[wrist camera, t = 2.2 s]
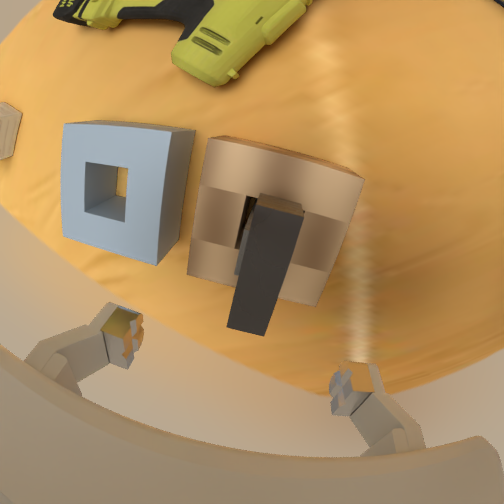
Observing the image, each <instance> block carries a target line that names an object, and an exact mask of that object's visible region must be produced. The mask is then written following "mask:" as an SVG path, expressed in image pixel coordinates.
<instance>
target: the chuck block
mask: <svg viewBox="0 0 504 504" xmlns="http://www.w3.org/2000/svg"><path fill="white" fill-rule="evenodd" d="M195 131H196V130H191V129H184V128H177V127H170V126H162V125H154V124H144V123H133V122H121V121H104V120H96V121H84V122H75V123H66V124H64V128H63V139H62V153H61V213H62V228H63V236H64V237H67V238H70V239H73V240H76V241H79V242H82V243H85V244H88V245H91V246H94V247H97V248H100V249H103V250H106V251H110V252H113V253H116V254H119V255H122V256H126V257H129V258H132V259H135V260H139V261H142V262H145V263H149V264H152V265H155V266H157V265H158V264H159V262H160V261H161V260H162V259H163V258H164V256H165V255H166V254H167V253H168V252H169V251H170V249H171V248H172V247H173V246H174V245H175V243H176V242H177V241H178V240H179V232H180V224H181V216H182V209H183V201H184V194H185V188H186V181H187V175H188V169H189V163H190V157H191V152H192V146H193V141H194V136H195ZM118 167H124V168H128V179H127V192H126V197H121V196H117V195H116V184H117V170H118Z"/></svg>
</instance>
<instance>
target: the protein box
mask: <svg viewBox="0 0 504 504" xmlns="http://www.w3.org/2000/svg"><path fill="white" fill-rule="evenodd" d="M494 1H496V2H497V3H499V4H500V5H501V6H503V7H504V0H494Z"/></svg>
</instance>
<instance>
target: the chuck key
mask: <svg viewBox="0 0 504 504" xmlns="http://www.w3.org/2000/svg"><path fill="white" fill-rule="evenodd" d="M303 220H304V213H303V209H302V204H300V203H297V202H293V201H289V200H286V199H282V198H278V197H274V196H270V195H267V194H263V193H260V195H259V197H258V198H256V200H255V203H254V205H253V208H252V211H251V213H250V216H249V218H248V221H247V223H246V226H245V229H244V232H243V237H242V241H241V245H240V250H239V254H238V258H237V263H236V267H235V271H234V275H237V276H238V281H237V285H236V289H235V293H234V298H233V302H232V306H231V310H230V315H229V319H228V323H227V327H228V328H231V329H235V330H239V331H243V332H247V333H252V334H256V335H260V336H264V335H265V332H266V329H267V327H268V324H269V321H270V318H271V315H272V313H273V310H274V307H275V304H276V301H277V298H278V296H279V293H280V290H281V287H282V285H283V282H284V279H285V276H286V273H287V270H288V267H289V264H290V261H291V258H292V255H293V252H294V249H295V246H296V242H297V239H298V236H299V233H300V229H301V226H302V223H303Z"/></svg>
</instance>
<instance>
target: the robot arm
mask: <svg viewBox="0 0 504 504" xmlns="http://www.w3.org/2000/svg"><path fill="white" fill-rule="evenodd" d="M142 322H143V315H142V314H141V313H138V312H135V311H132V310H130V309H127V308H125V307H122V306H119V305H116V304H114V303H111V302H108V303H107V304H106V305H105V306H104V307H103V308H102V309H101V311H100V312H99V313H98V314H97V316H96V317H95V318H94V319H93V321H92V322H91V323H90V324H89V325H83V326H80V327H77V328H75V329H72V330H69V331H67V332H64V333H61V334H58V335H56V336H53V337H50V338H48V339H45V340H42V341H40V342H39V343H38V344H37V345H36V346H35V348H34V349H33V350H32V351H31V352H30V354H29V355H28V356H27V357H26V359H25V360H24V361H22V360H21V359H19V358H18V357H17V356H15V355H14V354H13V353H11V352H10V351H9V350H7V349H6V348H5V347H3V346H2V345H1V344H0V504H504V473H503V469H502V464H501V460H500V457H499V454H498V452H497V451H496V449H495V448H494V447H493V446H492V445H491V444H490V443H489V442H488V441H487V440H486V439H485V438H483V437H482V436H474V437H471V438H467V439H464V440H461V441H457V442H453V443H449V444H445V445H441V446H436V447H432V448H427V449H426V446H425V442H424V438H423V435H422V431H421V427H420V425H419V424H418V423H417V422H416V421H415V420H414V419H413V418H412V417H411V416H410V415H409V414H408V413H407V412H406V411H405V410H404V409H403V408H402V407H401V406H400V405H399V404H398V403H397V402H396V401H395V400H394V399H393V398H392V397H391V396H390V395H389V394H388V393H385V390H384V386H383V383H382V379H381V376H380V373H379V369H378V366H377V365H376V364H371V363H361V362H352V361H343V362H342V363H341V364H340V366H339V371H337V372H336V373H334V375H333V376H332V378H331V381H330V384H329V393H330V395H331V396H332V397H333V400H332V401H331V411H332V415H338V416H350V419H351V420H352V422H353V423H354V425H355V426H356V428H357V429H358V431H359V432H360V434H361V435H362V436H363V438H364V440H365V441H366V442H367V444H368V445H369V447H370V448H369V449H368V450H366V451H365V452H364V453H362V454H361V456H360V457H338V458H337V457H336V458H335V457H334V458H333V457H331V458H330V457H301V456H287V455H276V454H268V453H259V452H253V451H247V450H241V449H235V448H229V447H224V446H219V445H215V444H211V443H206V442H202V441H198V440H194V439H190V438H186V437H183V436H180V435H176V434H172V433H170V432H166V431H163V430H160V429H157V428H154V427H151V426H149V425H146V424H143V423H140V422H138V421H135V420H132V419H130V418H127V417H125V416H122V415H120V414H118V413H115V412H113V411H111V410H108V409H106V408H104V407H102V406H100V405H98V404H96V403H93V402H91V401H89V400H87V399H85V398H83V397H82V393H81V391H80V389H79V387H78V385H77V382H79V381H81V380H83V379H84V378H86V377H87V376H89V375H91V374H93V373H95V372H96V371H98V370H100V369H101V368H103V367H105V366H106V365H108V364H109V363H111V364H114V365H117V366H119V367H122V368H125V369H128V368H129V366H130V365H131V363H132V361H133V359H134V352H136V351H138V350H139V348H140V346H141V344H142V341H143V335H144V329H143V328H142V326H141V324H142Z"/></svg>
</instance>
